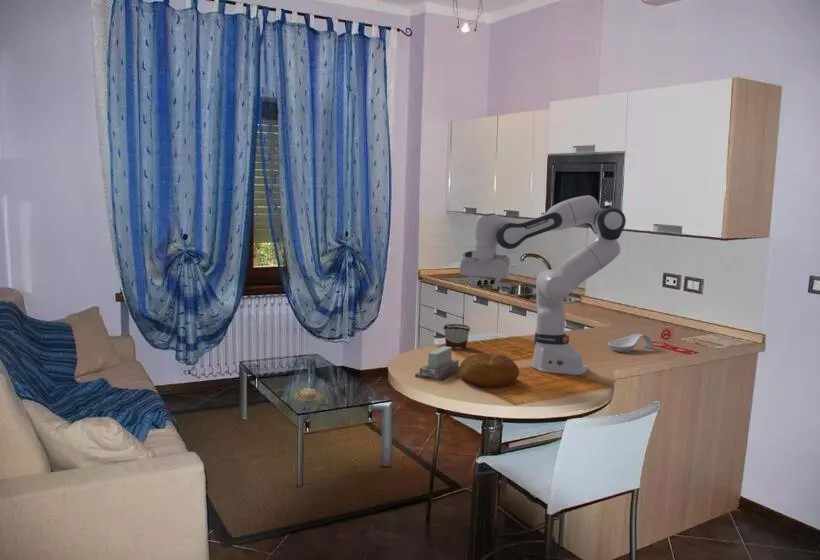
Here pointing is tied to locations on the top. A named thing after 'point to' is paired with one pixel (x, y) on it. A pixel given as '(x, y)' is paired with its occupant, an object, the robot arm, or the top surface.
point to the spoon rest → (629, 343)
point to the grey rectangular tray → (439, 371)
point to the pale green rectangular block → (439, 357)
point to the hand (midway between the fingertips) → (483, 287)
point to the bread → (489, 370)
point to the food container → (456, 335)
